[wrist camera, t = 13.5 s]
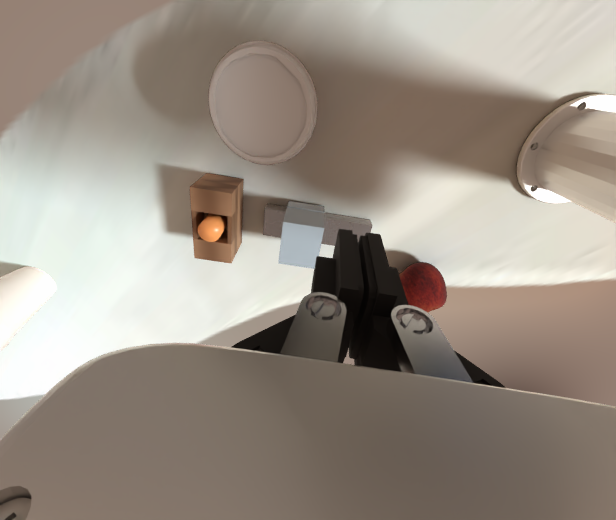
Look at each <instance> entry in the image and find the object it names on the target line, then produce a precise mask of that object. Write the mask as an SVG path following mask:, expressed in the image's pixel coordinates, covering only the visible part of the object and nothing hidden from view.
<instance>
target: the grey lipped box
mask: <svg viewBox="0 0 616 520" xmlns="http://www.w3.org/2000/svg"><path fill="white" fill-rule="evenodd" d="M323 232H324V206H318V205H312V204H305V203H299V202H293V201H289V202H288V205H287V210H286V213H285V217H284V220H283V227H282V236H281V245H280V254H279V264H286V265H293V266H300V267H306V268H313V269H315V262H316V257H317V256H319V252H320V247H321V242H322V237H323Z"/></svg>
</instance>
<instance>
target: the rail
mask: <svg viewBox="0 0 616 520" xmlns="http://www.w3.org/2000/svg"><path fill="white" fill-rule="evenodd" d="M286 210H287V207H286V206H279V205H273V204H267V206H266V208H265V216H264V229H263V235H268V236H275V237H281V236H282V227H283V220H284V217H285V213H286ZM371 228H372V224H371V221H370V220H368V219H362V218H356V217H349V216H343V215H337V214H330V213H324V232H323V237H322V242H321V244H327V245H334V246H335V244H336V239H337V234H338V230H339V229H346V230H352V232H353V234H356V235H357V239H358V242H359V238H360V236H361V235H363V236H365V234H366V233H370V232H371Z"/></svg>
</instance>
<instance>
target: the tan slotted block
mask: <svg viewBox="0 0 616 520" xmlns="http://www.w3.org/2000/svg"><path fill="white" fill-rule="evenodd" d="M190 200H191V214H192V228H193V242H194V256H195V258H198V259H205V260H212V261H219V262H225V263H232V261H233V259H234V257H235V255H236V253H237V251H238V249H239V247H240V245H241V243H242V212H243V179H240V178H234V177H228V176H222V175H216V174H209V173H206V174H205V175H204V176H203V177H201V178H200V179H199V180H198V181H196V182H195V183H194V184H193V185H191V186H190ZM209 213H211V214H217V215H224V216H226V217H227V219H228V225H227V227H226V228H225V230H224V231H223V233H222V234H221V236H220V237H219V239H218V240H217V241H215V242H208V241H205V240H203V239H202V238H201V237H200V236H199V234H198V226H199V225H200V224H201V222H202V221H203V220H204V219H205V218H206V216H207V215H208V214H209Z"/></svg>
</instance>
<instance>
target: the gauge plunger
mask: <svg viewBox="0 0 616 520" xmlns="http://www.w3.org/2000/svg"><path fill="white" fill-rule="evenodd" d="M227 225H228V219H227V217H226V216H224V215H217V214H211V213H209V214H208V215H207V216H206V218H205V219H204V220H203V221H202V222H201V224H200V225H199V226H198V234H199V236H200V237H201V238H202V239H203V240H205V241H208V242H215V241H217V240H218V239H219V237H220V236H221V234H222V233H223V231H224V230H225V228H226V227H227Z"/></svg>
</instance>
